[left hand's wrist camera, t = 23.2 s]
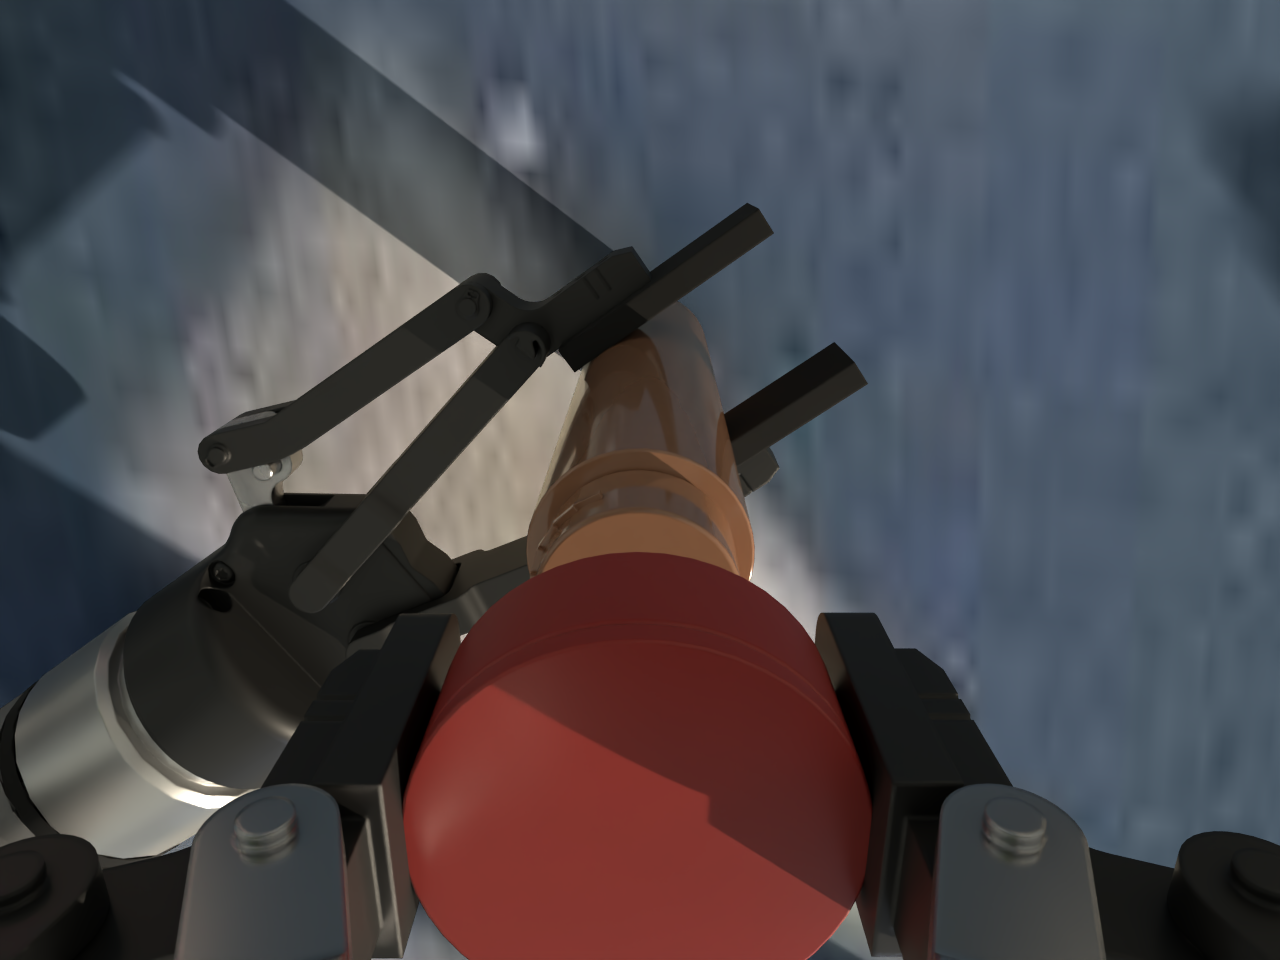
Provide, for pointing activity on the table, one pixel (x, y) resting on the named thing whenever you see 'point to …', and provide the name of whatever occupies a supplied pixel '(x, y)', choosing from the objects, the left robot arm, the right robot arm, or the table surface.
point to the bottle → (645, 458)
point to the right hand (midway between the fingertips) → (804, 292)
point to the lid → (637, 774)
